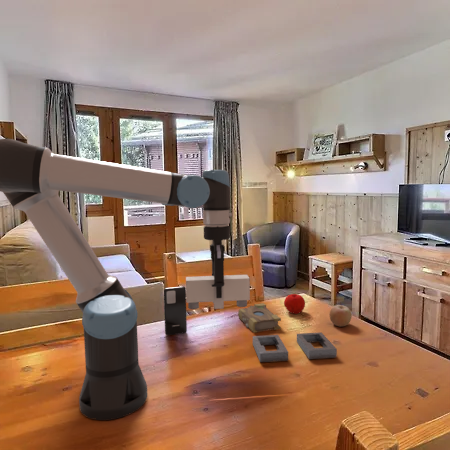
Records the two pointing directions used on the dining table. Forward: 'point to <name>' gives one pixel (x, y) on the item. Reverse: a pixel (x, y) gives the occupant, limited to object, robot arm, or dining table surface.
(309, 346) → the keyhole plates
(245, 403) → the dining table surface
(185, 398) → the dining table surface
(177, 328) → the smartphone
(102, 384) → the robot arm
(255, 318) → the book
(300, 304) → the apple
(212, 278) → the bar
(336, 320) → the fruit
